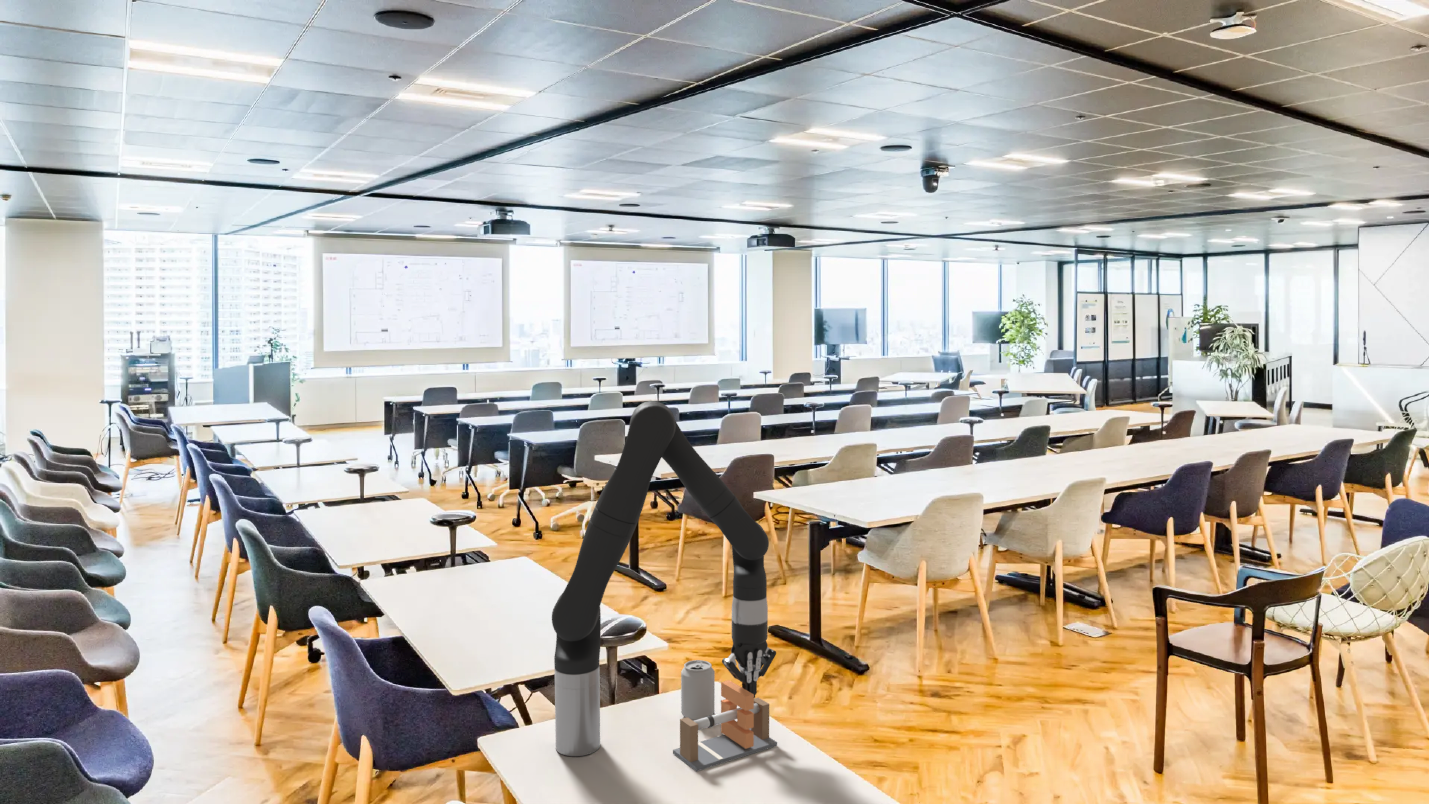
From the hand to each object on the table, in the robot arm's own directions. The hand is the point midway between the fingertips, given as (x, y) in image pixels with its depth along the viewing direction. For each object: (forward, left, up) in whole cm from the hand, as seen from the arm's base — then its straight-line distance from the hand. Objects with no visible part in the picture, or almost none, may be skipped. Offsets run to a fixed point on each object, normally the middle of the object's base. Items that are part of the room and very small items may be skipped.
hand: (749, 697), depth 191 cm
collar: (0, -3, -8) cm, 9 cm away
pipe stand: (0, -6, -10) cm, 11 cm away
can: (-17, -2, -10) cm, 20 cm away
